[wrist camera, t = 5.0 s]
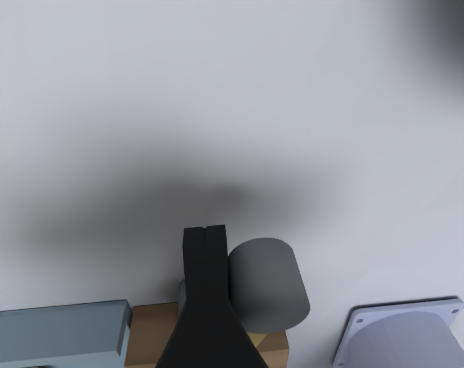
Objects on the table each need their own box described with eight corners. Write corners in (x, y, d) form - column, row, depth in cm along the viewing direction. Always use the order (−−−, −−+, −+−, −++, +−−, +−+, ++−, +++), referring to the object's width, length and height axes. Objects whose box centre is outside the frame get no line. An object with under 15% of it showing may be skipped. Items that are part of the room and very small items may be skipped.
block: (269, 361, 26) (279, 419, 23) (160, 373, 26) (155, 433, 23) (279, 268, 19) (296, 335, 15) (124, 282, 18) (109, 355, 15)
